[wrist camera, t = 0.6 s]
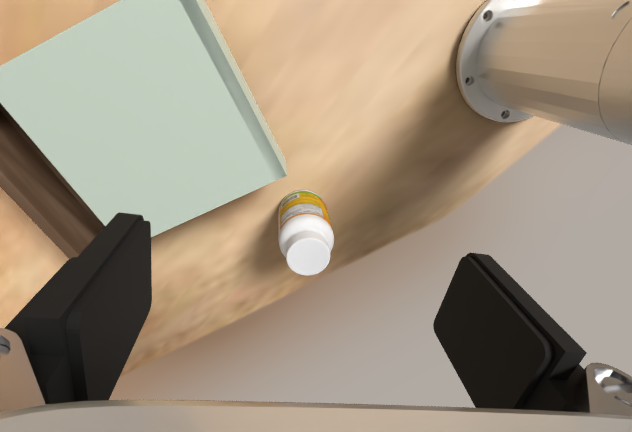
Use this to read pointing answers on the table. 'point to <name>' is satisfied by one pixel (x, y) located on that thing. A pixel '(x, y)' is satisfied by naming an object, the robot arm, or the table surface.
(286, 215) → the supplement bottle
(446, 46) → the table surface
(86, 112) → the lid
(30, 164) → the walnut box
